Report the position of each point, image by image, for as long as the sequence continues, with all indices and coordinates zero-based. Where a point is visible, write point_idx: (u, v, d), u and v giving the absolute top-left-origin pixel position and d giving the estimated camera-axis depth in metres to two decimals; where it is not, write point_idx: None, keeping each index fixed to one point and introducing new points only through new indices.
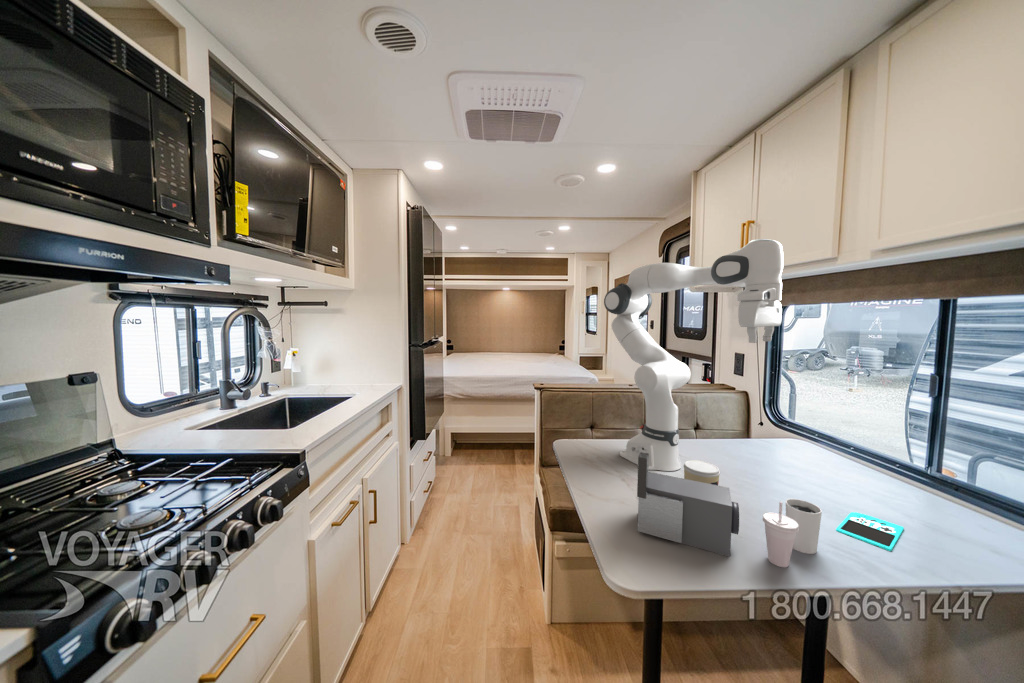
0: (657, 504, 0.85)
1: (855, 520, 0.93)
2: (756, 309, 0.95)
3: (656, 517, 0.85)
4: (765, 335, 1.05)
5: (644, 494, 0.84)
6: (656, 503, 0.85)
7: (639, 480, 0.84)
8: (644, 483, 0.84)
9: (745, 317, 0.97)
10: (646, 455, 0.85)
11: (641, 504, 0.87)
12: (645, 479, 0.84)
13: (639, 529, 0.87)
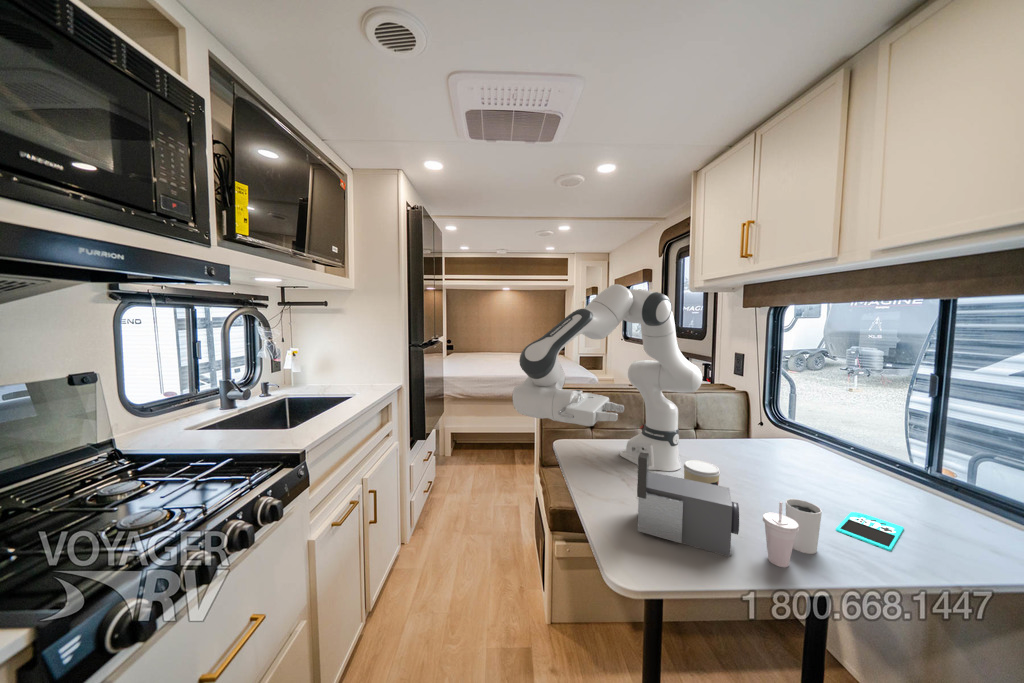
0: (657, 504, 0.85)
1: (855, 520, 0.93)
2: None
3: (656, 517, 0.85)
4: None
5: (644, 494, 0.84)
6: (656, 503, 0.85)
7: (639, 480, 0.84)
8: (644, 483, 0.84)
9: None
10: (646, 455, 0.85)
11: (641, 504, 0.87)
12: (645, 479, 0.84)
13: (639, 529, 0.87)
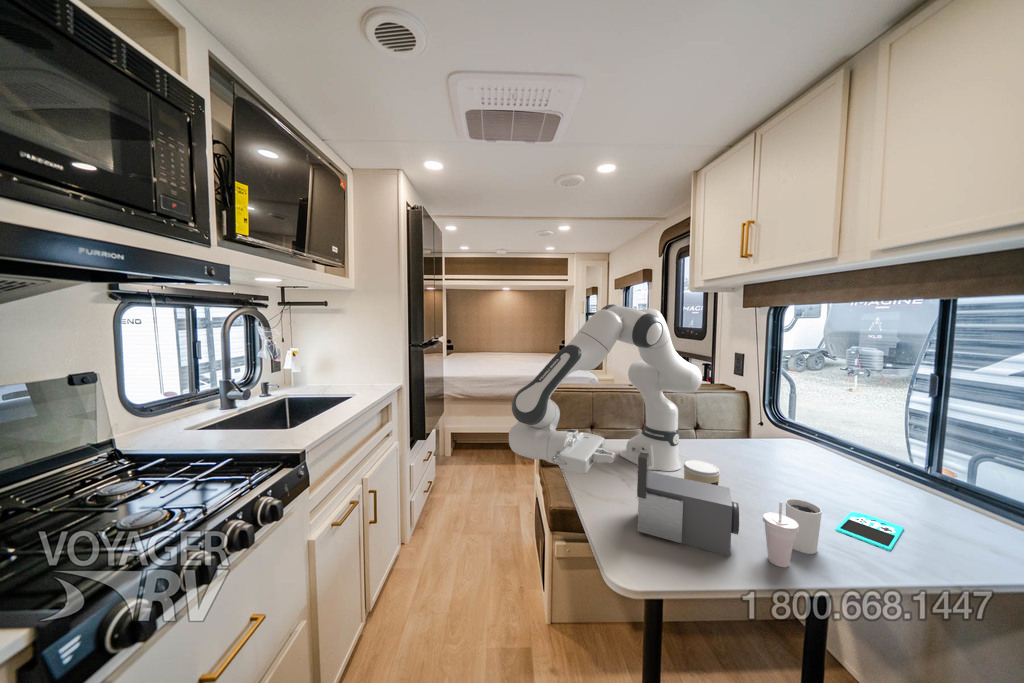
0: (657, 504, 0.85)
1: (855, 520, 0.93)
2: None
3: (656, 517, 0.85)
4: None
5: (644, 494, 0.84)
6: (656, 503, 0.85)
7: (639, 480, 0.84)
8: (644, 483, 0.84)
9: None
10: (646, 455, 0.85)
11: (641, 504, 0.87)
12: (645, 479, 0.84)
13: (639, 529, 0.87)
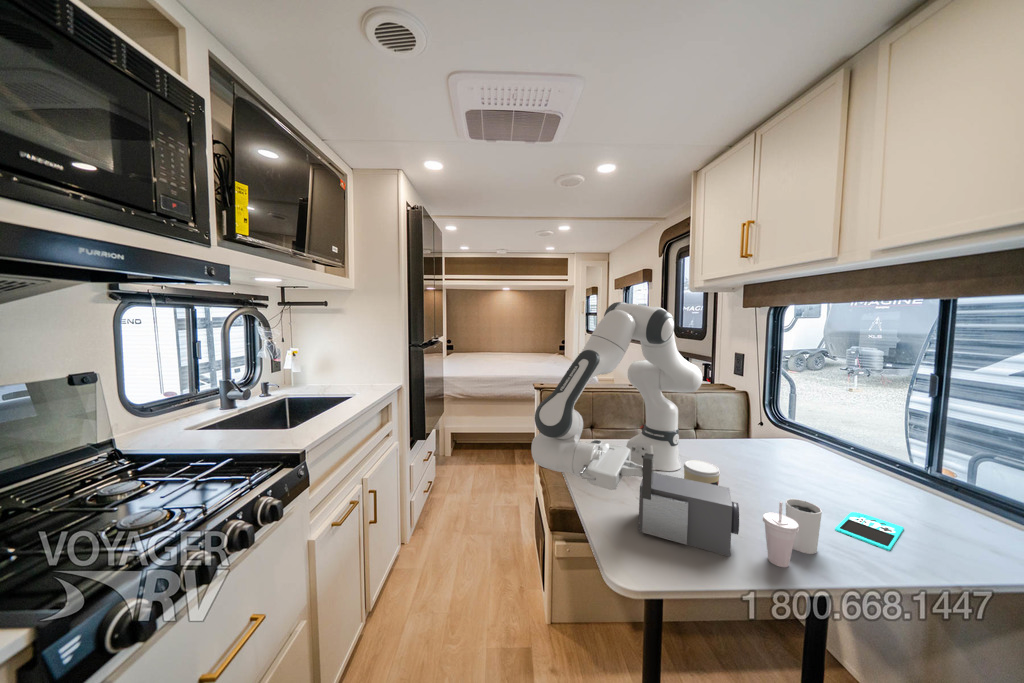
0: (662, 505, 0.84)
1: (855, 520, 0.93)
2: None
3: (661, 518, 0.84)
4: None
5: (649, 495, 0.83)
6: (661, 504, 0.84)
7: (644, 481, 0.84)
8: (649, 484, 0.83)
9: None
10: (651, 456, 0.85)
11: (646, 506, 0.86)
12: (650, 480, 0.83)
13: (644, 530, 0.87)
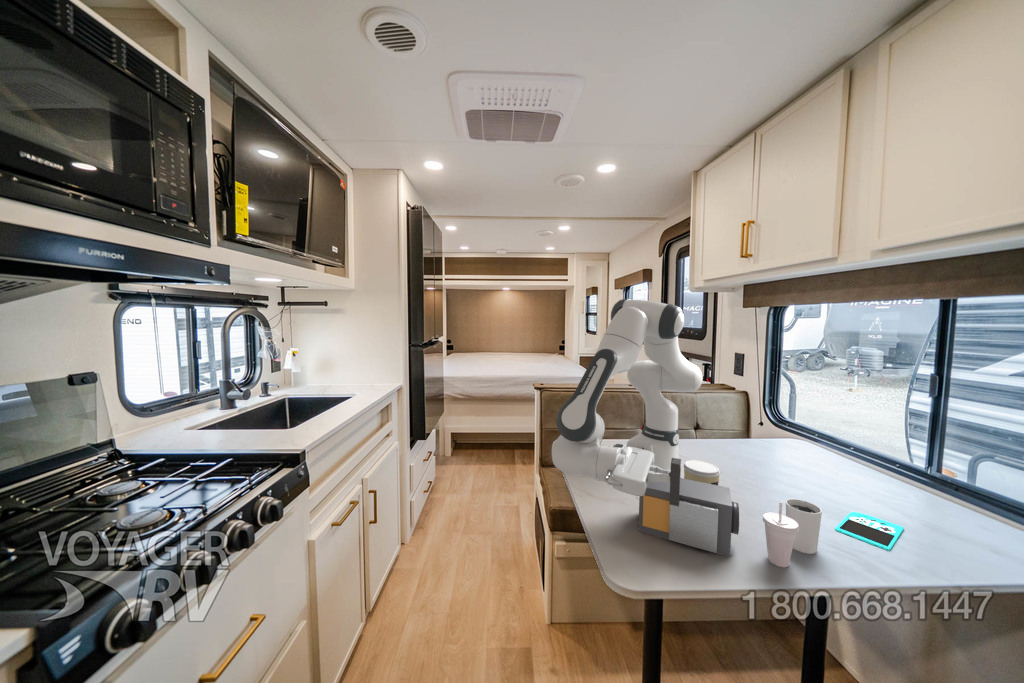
0: (690, 512, 0.81)
1: (855, 520, 0.93)
2: None
3: (689, 525, 0.82)
4: None
5: (677, 502, 0.80)
6: (689, 510, 0.81)
7: (672, 487, 0.81)
8: (677, 490, 0.80)
9: None
10: (679, 461, 0.82)
11: (673, 512, 0.83)
12: (678, 486, 0.80)
13: (670, 538, 0.84)
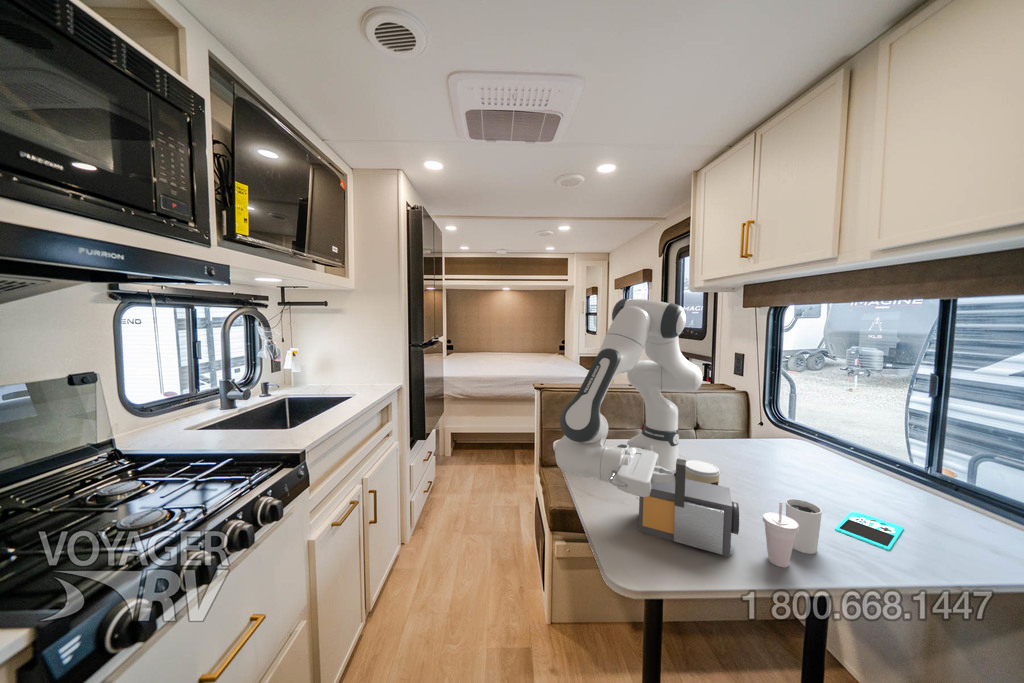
0: (695, 513, 0.81)
1: (855, 520, 0.93)
2: None
3: (694, 526, 0.81)
4: None
5: (682, 503, 0.80)
6: (694, 512, 0.81)
7: (677, 488, 0.80)
8: (682, 491, 0.80)
9: None
10: (684, 462, 0.81)
11: (678, 513, 0.83)
12: (683, 487, 0.80)
13: (675, 539, 0.83)
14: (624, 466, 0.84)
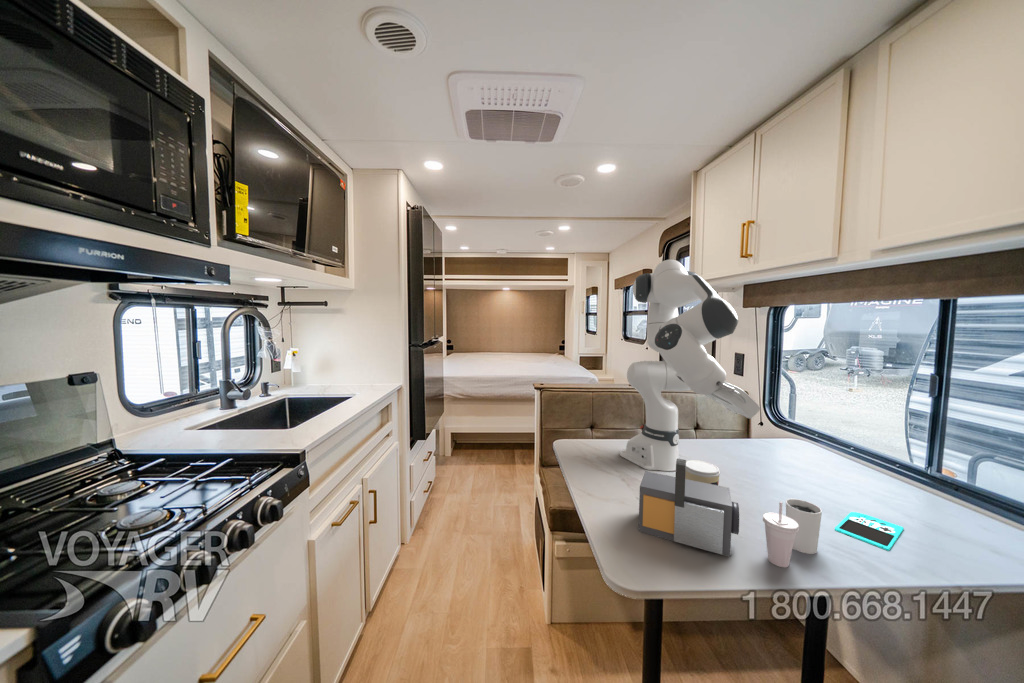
0: (695, 513, 0.81)
1: (854, 520, 0.93)
2: None
3: (694, 526, 0.81)
4: None
5: (682, 503, 0.80)
6: (694, 512, 0.81)
7: (677, 488, 0.80)
8: (682, 491, 0.80)
9: None
10: (684, 462, 0.81)
11: (678, 513, 0.83)
12: (683, 487, 0.80)
13: (675, 539, 0.83)
14: None
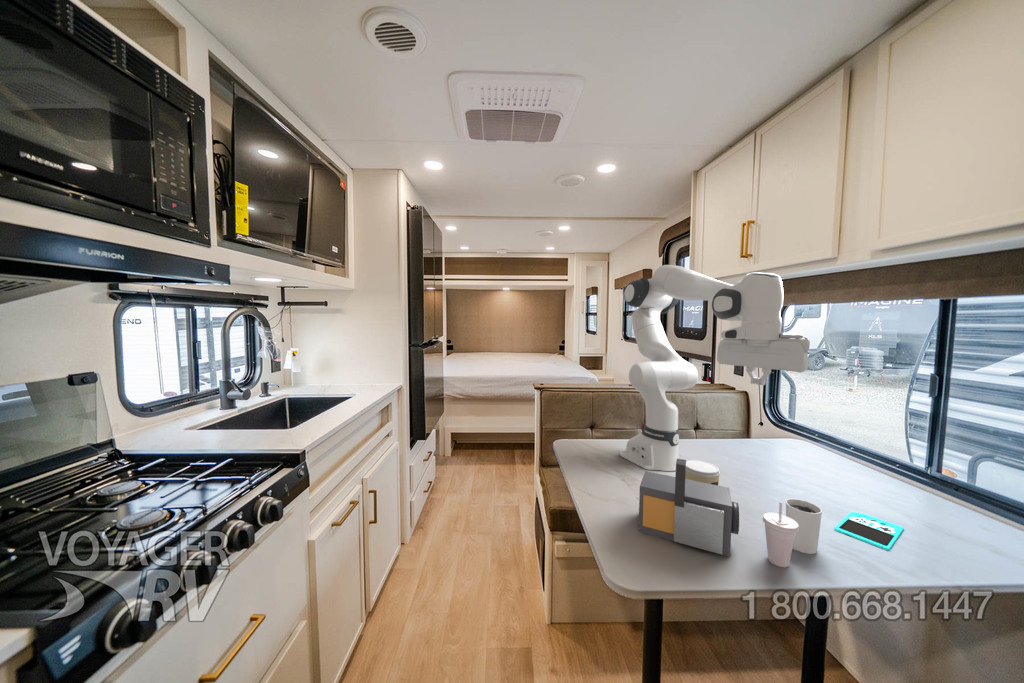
0: (695, 513, 0.81)
1: (854, 520, 0.93)
2: (718, 347, 0.99)
3: (694, 526, 0.81)
4: (761, 377, 0.93)
5: (682, 503, 0.80)
6: (694, 512, 0.81)
7: (677, 488, 0.80)
8: (682, 491, 0.80)
9: None
10: (684, 462, 0.81)
11: (678, 513, 0.83)
12: (683, 487, 0.80)
13: (675, 539, 0.83)
14: None
